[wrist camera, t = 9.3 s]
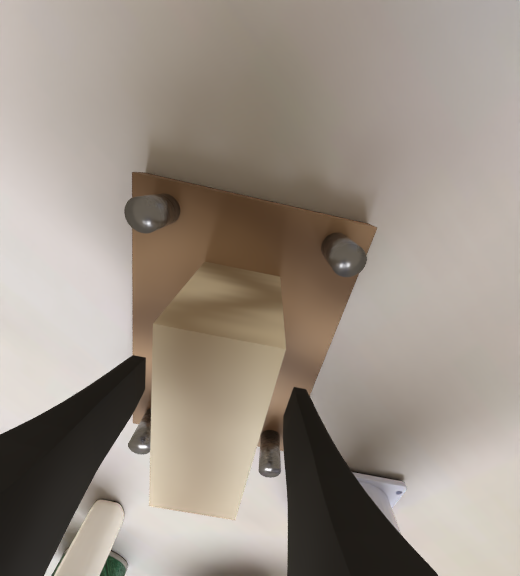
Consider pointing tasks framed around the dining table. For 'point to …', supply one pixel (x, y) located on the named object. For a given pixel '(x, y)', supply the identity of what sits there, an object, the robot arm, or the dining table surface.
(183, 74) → the dining table surface
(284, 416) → the robot arm
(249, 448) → the wooden block
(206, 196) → the peg board
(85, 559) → the eye dropper bottle
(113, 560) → the canned tomato
